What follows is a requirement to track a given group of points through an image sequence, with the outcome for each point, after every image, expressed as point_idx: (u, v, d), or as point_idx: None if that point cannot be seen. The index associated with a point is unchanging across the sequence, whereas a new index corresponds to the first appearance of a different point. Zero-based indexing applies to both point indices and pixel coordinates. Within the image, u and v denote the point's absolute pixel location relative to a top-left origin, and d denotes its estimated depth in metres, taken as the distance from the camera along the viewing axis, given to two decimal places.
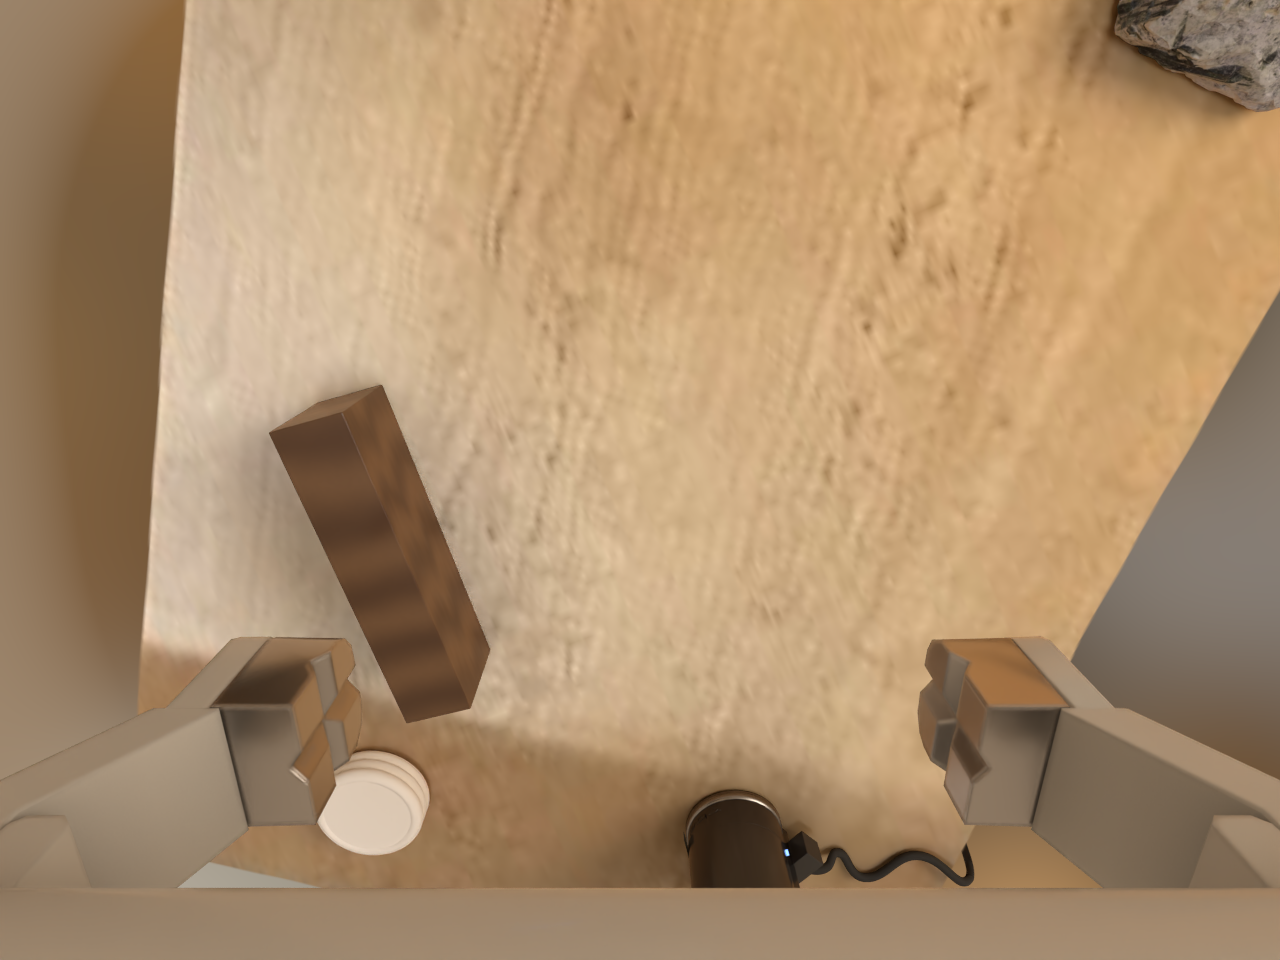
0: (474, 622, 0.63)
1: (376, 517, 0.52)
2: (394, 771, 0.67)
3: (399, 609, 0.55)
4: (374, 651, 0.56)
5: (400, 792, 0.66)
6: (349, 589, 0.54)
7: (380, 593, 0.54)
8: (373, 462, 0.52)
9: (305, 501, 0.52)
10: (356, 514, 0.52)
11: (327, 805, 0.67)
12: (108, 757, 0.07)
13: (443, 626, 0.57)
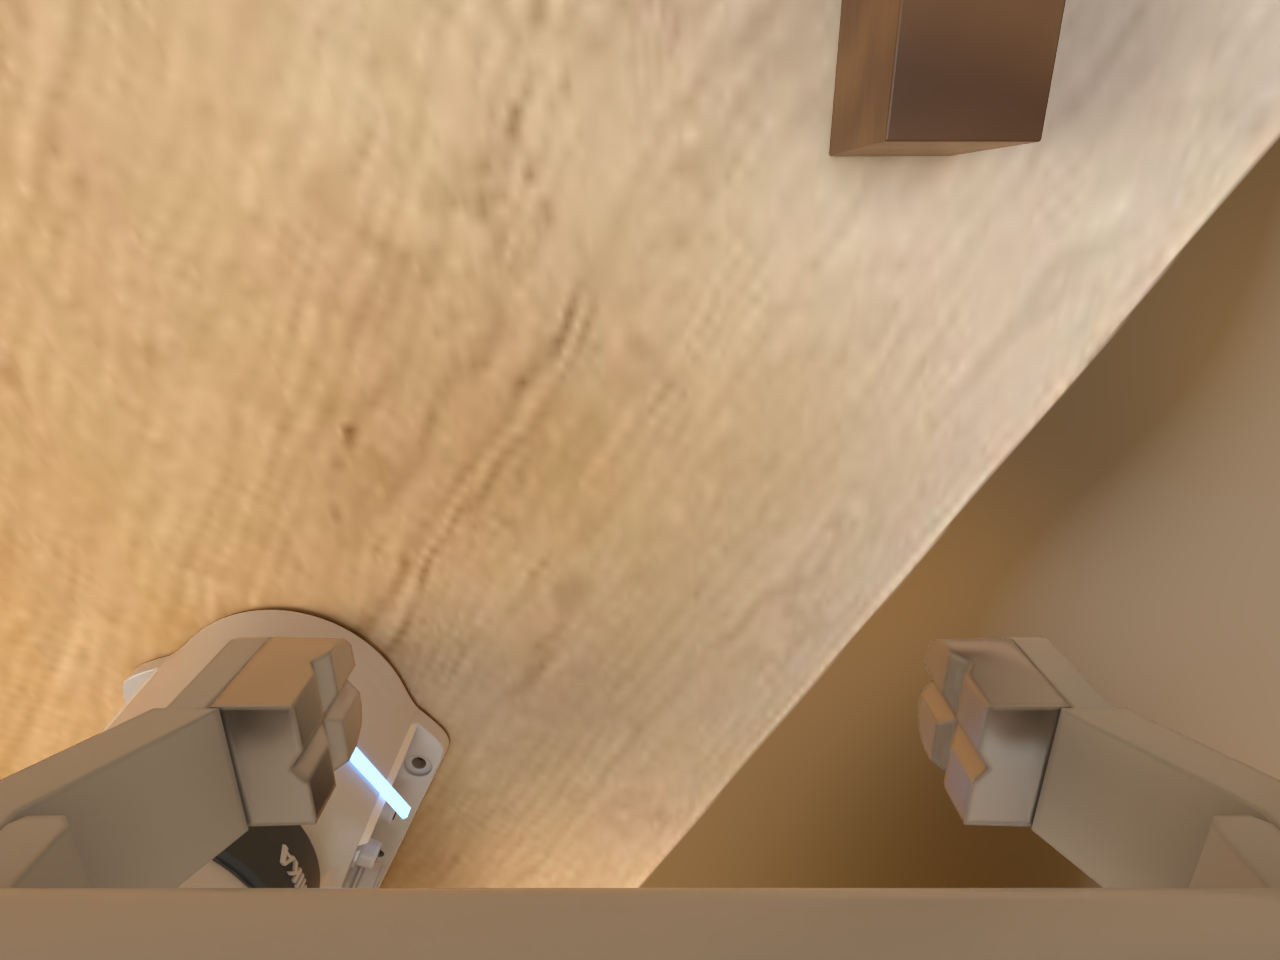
0: None
1: None
2: None
3: None
4: None
5: None
6: None
7: None
8: (887, 10, 0.25)
9: None
10: None
11: None
12: (108, 757, 0.07)
13: None
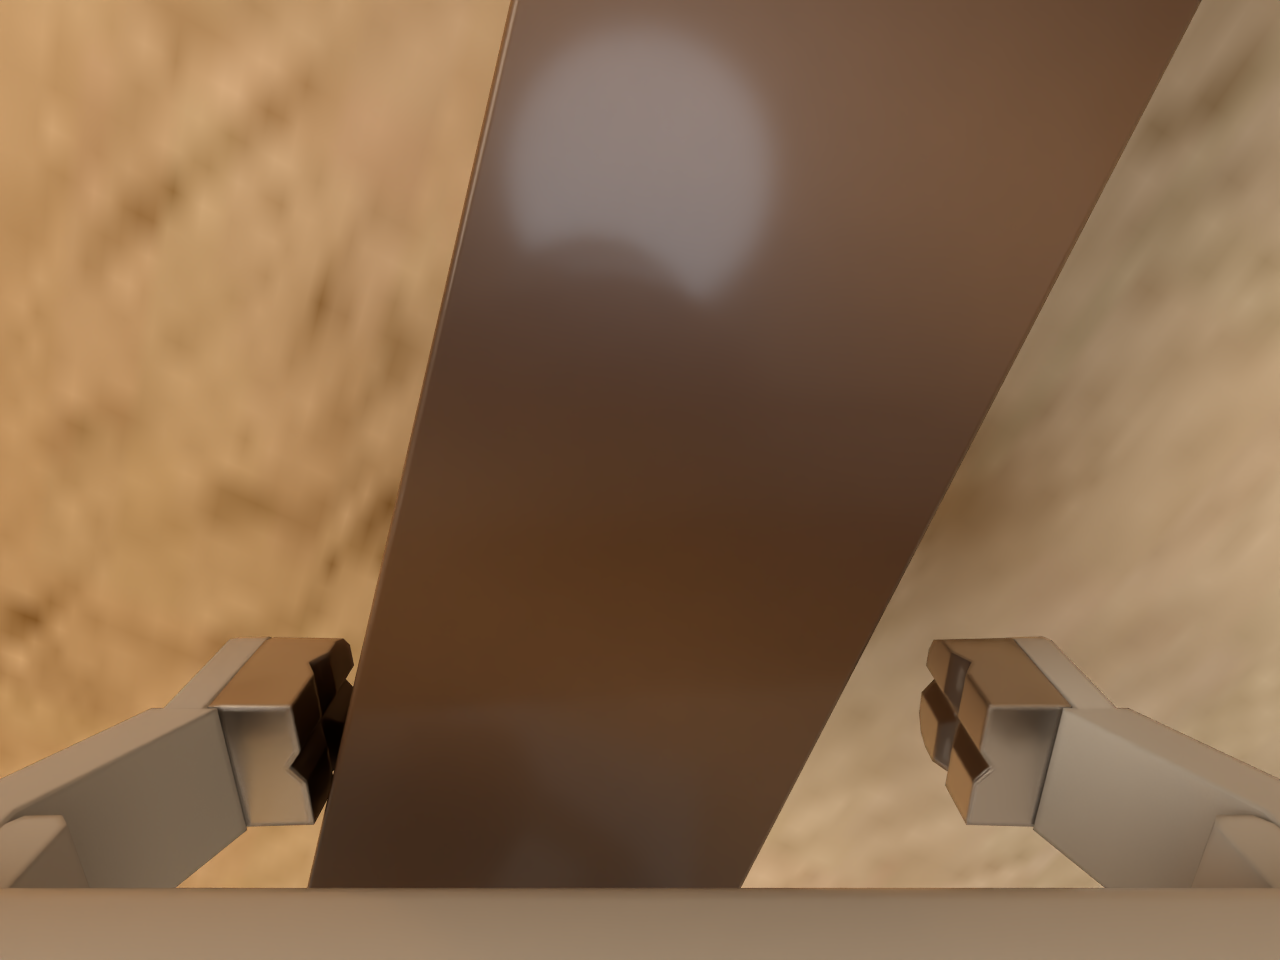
0: None
1: (514, 371, 0.07)
2: None
3: None
4: None
5: None
6: None
7: None
8: None
9: (821, 684, 0.08)
10: (619, 465, 0.07)
11: None
12: (106, 757, 0.07)
13: None
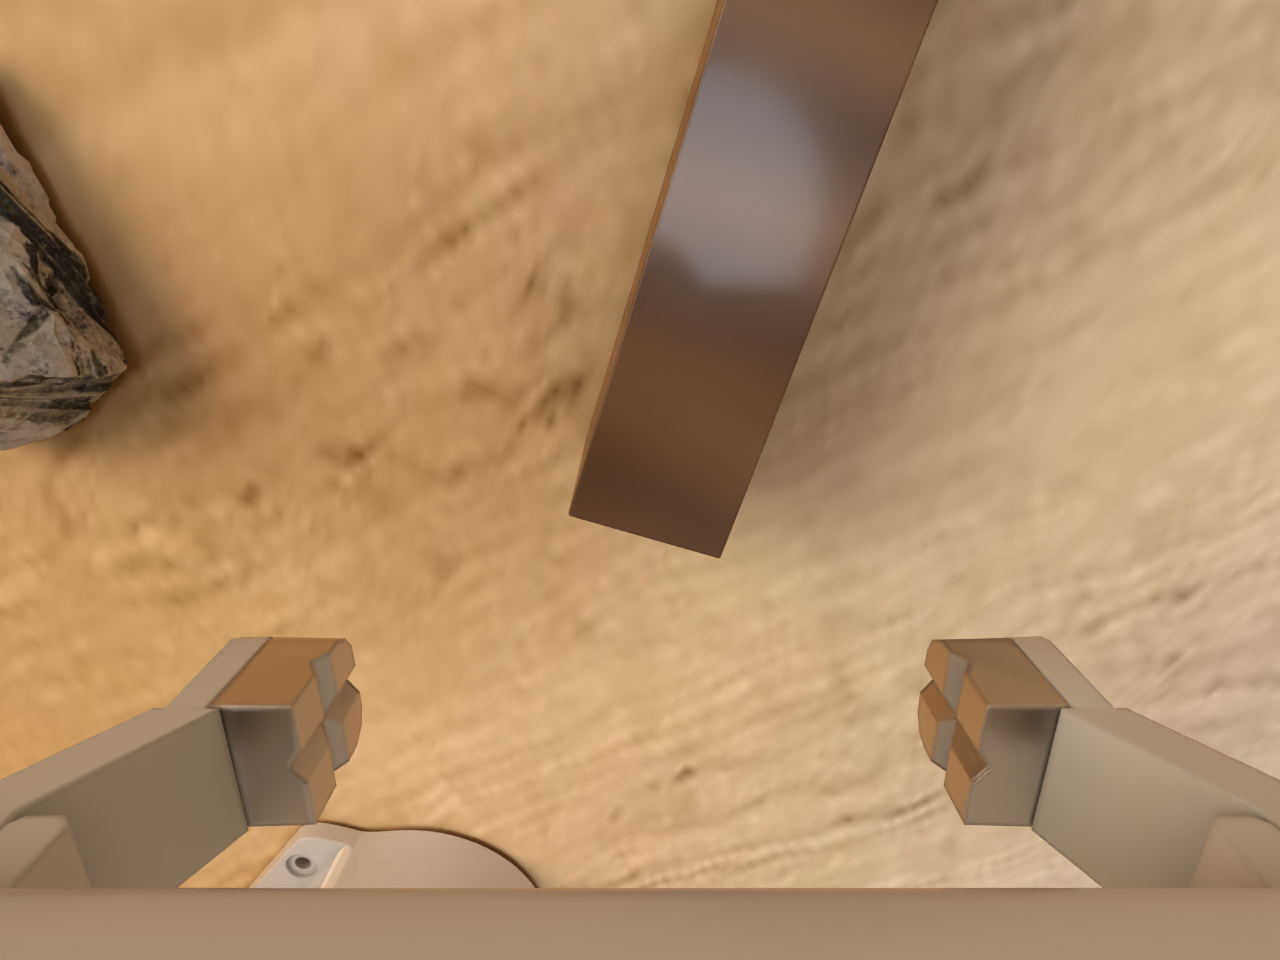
0: None
1: (662, 296, 0.22)
2: None
3: (791, 40, 0.20)
4: None
5: None
6: (853, 174, 0.21)
7: (795, 116, 0.20)
8: (604, 389, 0.24)
9: (766, 413, 0.23)
10: (694, 328, 0.22)
11: None
12: (108, 757, 0.07)
13: None
